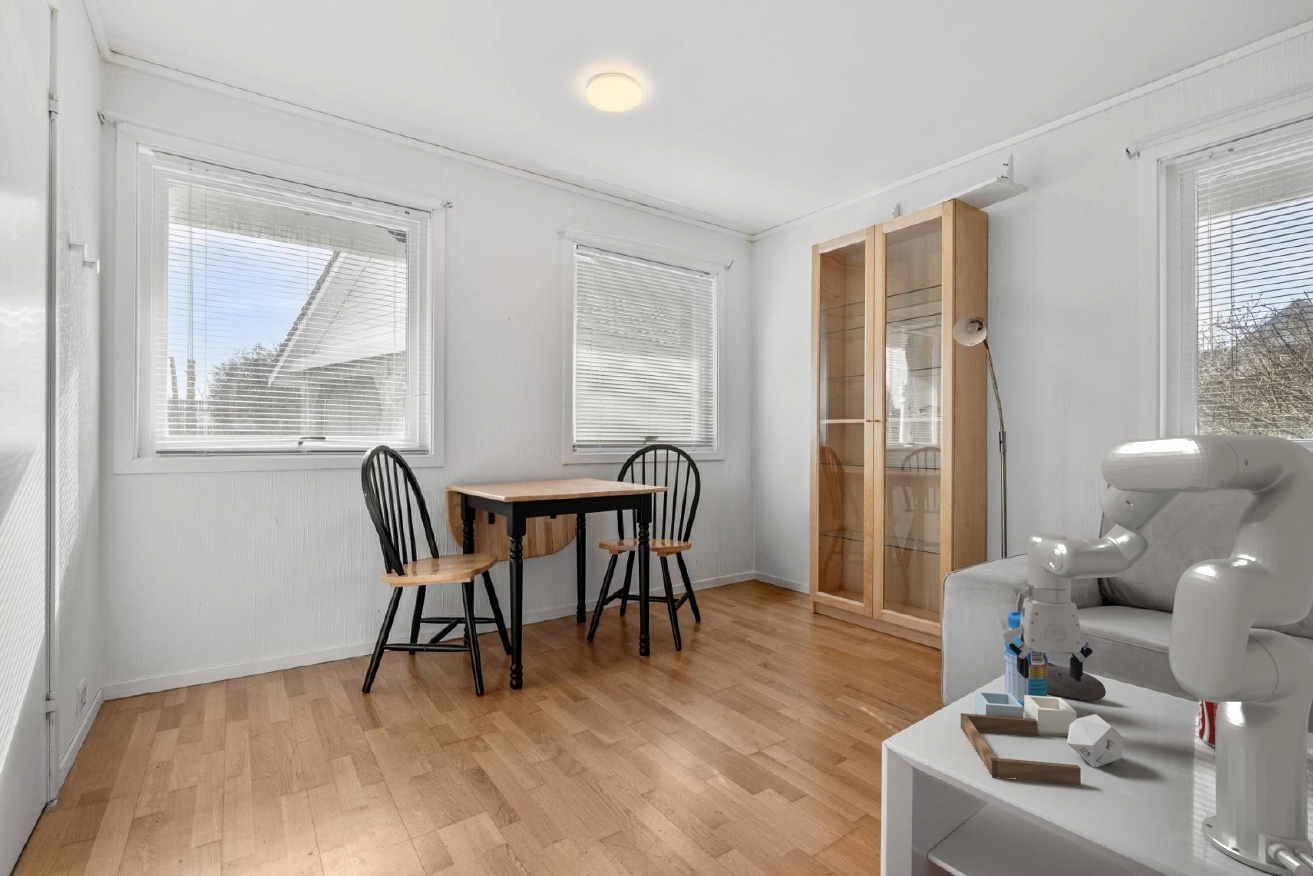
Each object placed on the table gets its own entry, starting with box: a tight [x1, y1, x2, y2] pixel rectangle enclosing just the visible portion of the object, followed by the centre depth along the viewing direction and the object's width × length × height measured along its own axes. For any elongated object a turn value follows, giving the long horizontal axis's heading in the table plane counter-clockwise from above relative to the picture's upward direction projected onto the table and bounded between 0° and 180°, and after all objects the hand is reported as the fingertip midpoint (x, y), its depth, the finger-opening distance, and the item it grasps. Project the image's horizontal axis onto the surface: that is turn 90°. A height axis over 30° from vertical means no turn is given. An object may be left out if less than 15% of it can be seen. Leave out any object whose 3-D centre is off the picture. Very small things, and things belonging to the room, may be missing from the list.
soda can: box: [1198, 699, 1219, 748], centre depth 120 cm, size 7×7×12 cm
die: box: [1066, 714, 1124, 768], centre depth 114 cm, size 8×9×10 cm
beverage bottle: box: [1003, 611, 1049, 711], centre depth 138 cm, size 8×8×20 cm
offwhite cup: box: [1023, 695, 1078, 737], centre depth 127 cm, size 7×7×5 cm
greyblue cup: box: [974, 690, 1024, 718], centre depth 129 cm, size 7×7×5 cm
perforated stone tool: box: [1047, 661, 1107, 702], centre depth 143 cm, size 15×5×7 cm, turn 50°
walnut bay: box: [960, 712, 1082, 787], centre depth 117 cm, size 19×14×3 cm
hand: (1049, 677), depth 127 cm, fingers open, 9 cm apart
